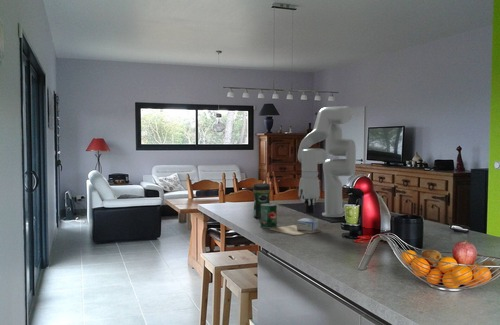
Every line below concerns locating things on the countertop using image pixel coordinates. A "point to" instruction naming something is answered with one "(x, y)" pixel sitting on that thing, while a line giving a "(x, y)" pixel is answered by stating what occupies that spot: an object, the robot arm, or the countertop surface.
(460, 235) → the countertop surface
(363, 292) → the countertop surface
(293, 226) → the wooden board
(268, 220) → the canned tomato
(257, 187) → the coffee jar
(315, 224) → the medicine box
